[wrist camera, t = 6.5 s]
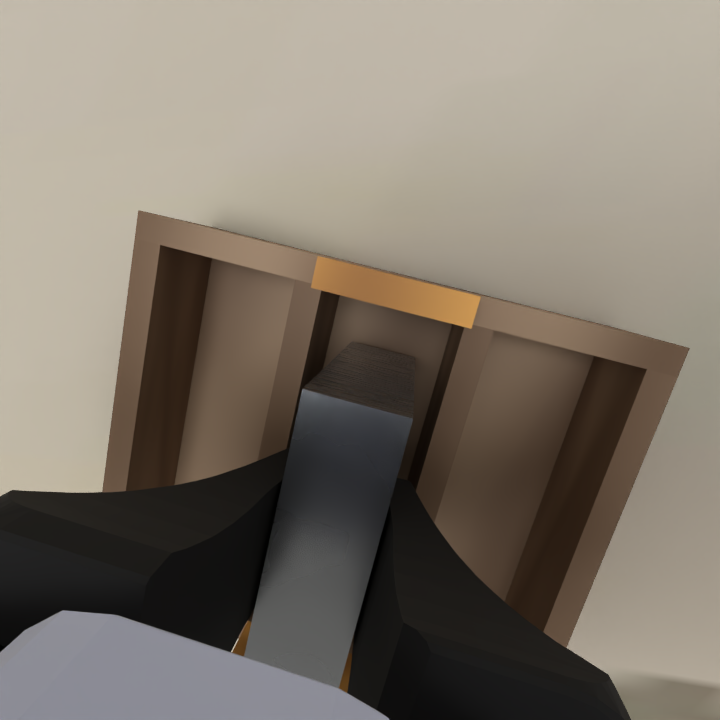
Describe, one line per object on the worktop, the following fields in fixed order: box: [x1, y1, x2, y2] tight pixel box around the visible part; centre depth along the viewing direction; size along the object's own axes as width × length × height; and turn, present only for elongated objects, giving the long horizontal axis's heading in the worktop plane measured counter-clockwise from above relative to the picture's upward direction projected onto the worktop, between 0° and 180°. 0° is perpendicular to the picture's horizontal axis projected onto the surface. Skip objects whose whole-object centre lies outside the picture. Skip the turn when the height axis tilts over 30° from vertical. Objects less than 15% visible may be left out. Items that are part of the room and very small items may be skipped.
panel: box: [244, 342, 415, 688], centre depth 11 cm, size 2×7×6 cm, turn 166°
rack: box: [102, 210, 690, 693], centre depth 13 cm, size 14×11×5 cm
